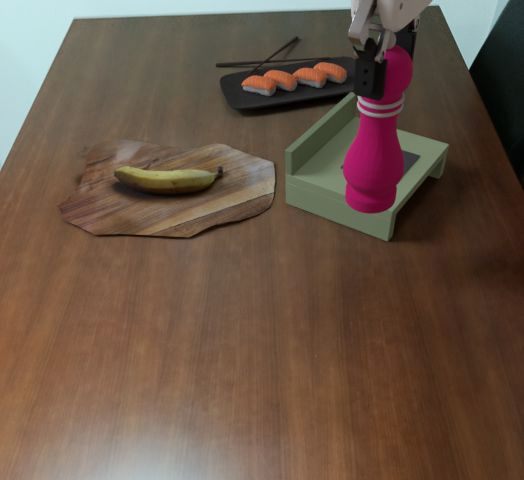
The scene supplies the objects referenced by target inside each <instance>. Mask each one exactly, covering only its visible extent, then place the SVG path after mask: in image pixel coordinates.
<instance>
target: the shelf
mask: <svg viewBox="0 0 524 480" xmlns="http://www.w3.org/2000/svg"><path fill="white" fill-rule="evenodd" d="M357 102H358V96H357V95H355V94H354V93H353V92H350V93H349V94H346V96H345V97H343V99H340V101H339V102H338V103H337V104H335V105H334V106H333V107H332V108H331V109H330V110H329V111H327V112H326V113H325V114H324V115H322V116H321V118H320V119H319V120H318V121H316V122H315V123H314V124H313V125H312V126H311V127H309V128H308V129H307V130H306V131H305V132H304V133H303V134H302V135H300V136H299V138H297V139H296V140H295V141H294V142H293V143H292V144H290V145H289V146H288V147H287V148H286V149H285V150H284V152H285V153H284V160H285V161H284V162H285V163H284V164H285V166H284V167H285V169H284V170H285V172H284V174H285V204H287V205H289V206H292V207H295V208H297V209H300V210H303V211H305V212H308V213H311V214H313V215H315V216H318V217H321V218H324V219H327V220H329V221H332V222H334V223H337V224H340V225H341V226H345V227H348V228H349V229H353V230H356V231H358V232H361V233H363V234H367V235H368V236H372V237H374V238H377V239H379V240H382V241H385V242H389V241H390V240H391V239H392V237H393V235H394V229H395V223H396V218H397V214H398V213H399V212H400V210H401V209H402V208H403V207H404V205H405V204H406V203H407V202H408V201H409V199H410V198H411V197H412V196H413V194H414V193H415V192H416V191H417V190H418V189H419V188H420V186H421V185H422V184H423V183H424V182H425V180H426V179H427V178H428V177H431V178H434V179H437V180H440V179H441V177H442V175H443V174H444V171H445V166H446V161H447V157H448V153H449V148H450V144H449V143H446V142H443V141H439V140H435V139H432V138H429V137H426V136H422V135H418V134H415V133H413V132H408V131H406V130H402V129H399V128H396V129H397V136H398V140H399V143H400V146H401V149H402V152H403V157H404V173H403V177H402V179H401V180H400V182H399V183H398V184H397V185H396V186H397V192H396V199H395V203H394V204H393V206H392V207H391V208H389V209H388V210H386V211H384V212H381V213H375V214H369V213H362V212H358V211H356V210H354V209H352V208H351V207H350V206H349V205H348V204H347V202H346V200H345V191H346V184H347V181H346V180H345V178H344V175H343V165H344V159H345V157H346V154H347V152H348V150H349V148H350V146H351V144H352V143H353V141H354V140H355V138H356V136H357V133H358V130H359V125H360V117H358V116H356V113H357V112H356V111H357Z"/></svg>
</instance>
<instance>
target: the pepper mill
mask: <svg viewBox="0 0 524 480" xmlns="http://www.w3.org/2000/svg"><path fill="white" fill-rule="evenodd" d="M379 37H380V35H378V38H377V42H378V41H379ZM395 43H396V36H395V34H394V33H393V32H390V36H389V40H388V44H387V48H386V52H385V57H384V59H387V60H388V64H387V73H386V81H385V90H384V97H383V98H382V99H381V100H380V101H376V100H373V99H369V98H365V97H361V96H357V101H356V108H357V109H358V111H359V112H360V115H359V116H360V117H359V118H360V125H359V130H358V133H357V136H356V138H355V140H354V141H353V143H352V144H351V146H350V148H349V150H348V152H347V154H346V157H345V159H344V165H343V175H344V178H345V180H346V181H347V184H346V191H345V200H346V202H347V204H348V205H349V206H350V207H351V208H352V209H354V210H356V211H358V212H362V213H369V214H375V213H381V212H384V211H386V210H388V209H389V208H391V207H392V206H393V204H394V203H395V199H396V192H397V186H396V185H397V184H398V183H399V182H400V180H401V179H402V177H403V173H404V157H403V152H402V149H401V146H400V143H399V140H398V136H397V129H398V128H397V127H398V126H397V124H398V123H397V122H398V116H399V113H401V112H402V111H403V109H404V102H405V99H406V98H405V97H406V95H405V93H404V92H406V90H407V89H408V88H409V87H410V85H411V82H412V80H413V75H414V64H413V63H412V60H411V58H410V56H409V54H408V53H407V52H406V50H404V49H403V48H402V47H400V46H397V45H395ZM376 44H377V45H378V43H376Z"/></svg>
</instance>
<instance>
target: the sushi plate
mask: <svg viewBox="0 0 524 480" xmlns="http://www.w3.org/2000/svg"><path fill="white" fill-rule="evenodd" d="M298 40H299V36H298V35H295V36H294V37H293V38H291V39H290V40H289V41H287V42H286V43H284V44H283V46H281V47H280V48H278V49H277V50H276V51H275V52H274V53H272V54H271V55H270V56H268V58H266V59H264V60H251V61H250V60H249V61H248V60H246V61H229V62H216V63H215V67H216V68H221V67H236V66H247V65H249V66H250V65H257V66H255V67H254V68H253V69H250V70H244V71H243V70H242V71H237V72H232V73H228V74H224V75H223V76H220V78H219V87H220V89H221V92H222V94H223V97H224V99H225V102H226V103H227V105H228V106H229V107H230V108H231V110H236V111H247V110H249V111H250V110H256V109H262V108H263V109H264V108H268V107H269V108H270V107H274V106H275V107H276V106H281V105H287V104H295V103H299V102H306V101H311V100H318V99H325V98H331V97H338V96H343V95H348V94H349V93H350V92H353V93H354V91H353V90H354V76H355V62H356V58H355V57H352V56H334V57H331V56H325V57H322V56H321V57H307V58H306V57H305V58H304V57H303V58H289V59H288V58H287V59H272V58H274V57H275V56H277V55H278V54H280V53H281V52H282V51H284V50H285V49H287V48H289V47H290V46H291V45H292V44H293V43H295V42H296V41H298ZM287 62H295V63H289V64H282V65H275V66H269V67H262V68H260V67H261V66H264V64H276V63H287Z"/></svg>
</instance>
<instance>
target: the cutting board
mask: <svg viewBox="0 0 524 480" xmlns="http://www.w3.org/2000/svg"><path fill="white" fill-rule="evenodd" d="M86 157H87V158H86V163H85V170H84V172H83V176H82V177H81V180H80V183H79V185H78V186H77V187H76V189H75V190H74V191H73V193H72V194H71V195H70V196H69V197H68V198H67V199H66V200H65V201H63V202H61V203H59V204H57V205H55V207H56V208H59V209H60V211H61V218H62V220H63V221H65V222H68V223H70V224H72V225H74V226H76V227H79V228H80V229H82V230H84V231H87V232H88V233H91V234H92V235H94V236H102V235H135V236H136V235H137V236H153V237H155V236H157V237H175V238H177V237H178V238H191V237H192V236H194V235H197V234H199V233H200V232H202V231H204V230H206V229H208V228H211V227H213V226H216V225H217V226H219V225H224V224H228V223H229V222H239V221H242V220H246V219H247V218H251V217H255V216H258V215H260V214H262V213H263V212H265V211H266V210H268V209H269V208H270V207H271V205H272V203H273V200H274V196H275V185H276V184H275V183H276V169H275V164H274V161H270V160H267V159H265V158H261V157H259V156H255V155H253V154H249V153H247V152H244V151H242V150H239V149H237V148H233V147H231V146H229V145H227V144H224V143H218V142H217V143H215V142H214V143H211V144H205V145H203V146H198V147H189V148H180V147H174V146H171V145H164V144H158V143H157V144H156V143H151V142H146V141H141V140H137V139H131V138H129V139H116V140H106V141H103V142H100V143H97V144H94V146H93V147H92V148H91V149H90V150H89V151H88V152H87V156H86Z"/></svg>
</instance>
